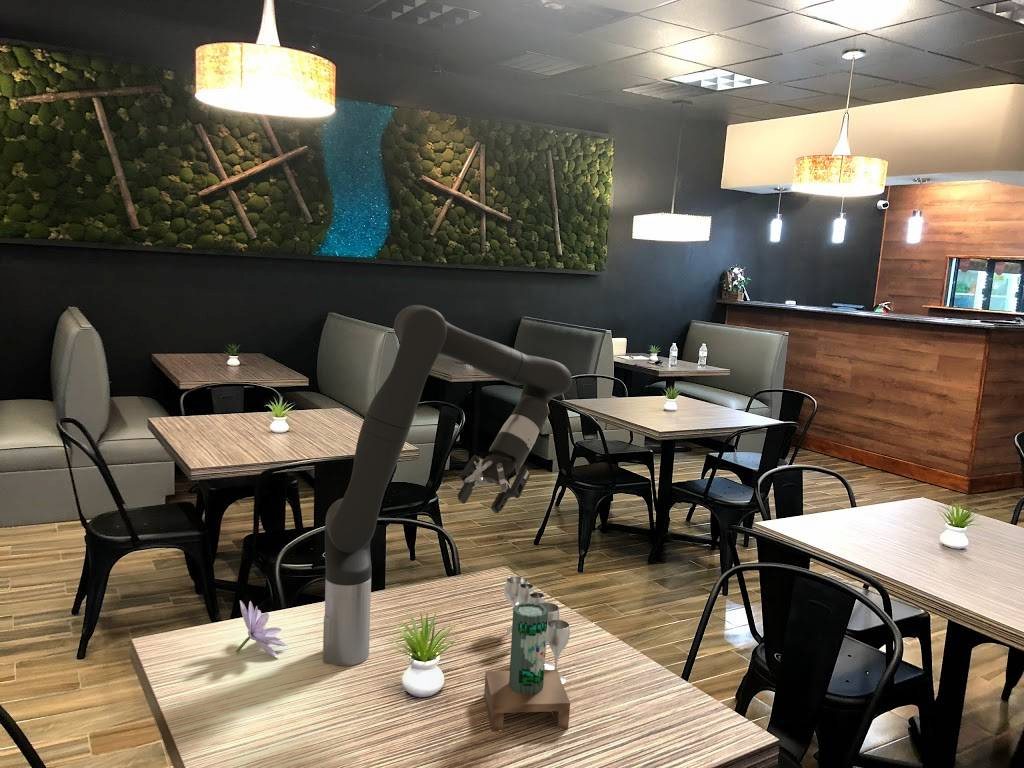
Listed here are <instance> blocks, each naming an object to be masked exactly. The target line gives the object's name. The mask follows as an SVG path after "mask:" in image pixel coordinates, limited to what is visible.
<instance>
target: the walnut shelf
mask: <svg viewBox="0 0 1024 768" xmlns="http://www.w3.org/2000/svg"><path fill="white" fill-rule="evenodd" d="M509 675H510V670H487V671H485V674H484V692H483V693H484V694H483V697H484V701H485V705H486V710H487V716H488V721H489V725H491V726H490V730H491V732H500V731H499V730H503V731H504V715H505V714H511V713H535V712H536V713H539V712H541V713H542V712H551V711H552V712H551V714H552V716H553V721H554V723H555V725H557V726H556V729H557V728H558V729H557V730H566V729H565V728H568V729H569V726H570V724H569V723H570V710H571V702H570V699H569V696H568V694H567V692H566V689H565V686H564V684H562V681H561V679H560V676H559V675H560V674H559V672H558V669H557V670H555V669H553V670H544V682H543V688H542V690H541V691H540V692H538V693H536V694H534V693H533V694H531V695H530V694H528V695H527V694H525V695H524V694H522V693H520V694H519V693H517V692H515V691H513V690H511V688H510V687H509ZM560 728H562V729H560Z"/></svg>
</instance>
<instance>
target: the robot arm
mask: <svg viewBox="0 0 1024 768" xmlns="http://www.w3.org/2000/svg"><path fill="white" fill-rule="evenodd" d="M393 331H394V333H395V336H396V338H397V340H398V342H399V347H398V350H397V354H396V357H395V360H394V363H393V366H392V368H391V370H390V372H389V375H387V377H386V379H385V381H383V384H382V385H381V386H380V387H379V389H378V390H377V392H376V394H375V395H374V397H373V398H372V400H371V403H370V404H369V406H368V409H367V411H366V413H365V416H364V419H363V421H362V425H361V428H360V431H359V434H358V439H357V442H356V447H355V453H354V459H353V465H352V473H351V477H350V480H349V483H348V487H347V489H346V491H345V493H344V495H343V497H342V498H339V499H337V500H336V501H334V502H333V503H332V504H331V505H330V507H329V508H328V510H327V512H326V516H325V521H324V522H325V523H324V565H325V566H324V567H325V568H324V569H325V585H324V586H325V589H324V590H325V591H324V597H325V598H324V616H323V630H322V631H323V637H322V640H323V641H322V643H323V644H322V663H328V664H332V665H335V666H342V667H346V666H355V665H359V664H361V663H363V662H365V661H366V660H367V659H368V658H369V656H370V634H371V633H370V632H371V631H370V630H371V628H370V627H371V597H372V596H371V595H372V593H371V592H372V560H371V559H372V558H371V540H372V539H373V537H374V535H375V532H376V527H377V523H378V519H379V514H380V510H381V508H382V504H383V500H384V496H385V492H386V489H387V487H388V484H389V483H390V480H391V478H392V476H393V473H394V471H395V469H396V465H397V463H398V460H399V458H400V456H401V453H402V451H403V448H404V445H405V443H406V440H407V438H408V435H409V432H410V429H411V428H412V427H411V426H412V424H413V420H414V417H415V414H416V411H417V410H418V406H419V403H420V401H421V397H422V394H423V391H424V388H425V384H426V382H427V379H428V377H429V375H430V372H431V370H432V368H433V366H434V364H435V362H436V360H437V358H438V357H439V354H440V355H444V356H447V357H448V358H449V357H450V358H452V359H455V360H457V361H460V362H462V363H463V364H465V365H468V366H470V367H472V368H474V369H476V370H478V371H480V372H482V373H484V374H486V375H488V376H490V377H493V378H496V379H498V380H500V381H504V382H506V383H508V384H511V385H514V386H515V385H517V386H518V385H519V386H520V385H524V386H523V387H522V388H523V389H522V391H521V394H520V398H519V401H518V403H517V405H516V406H515V408H514V409H513V411H512V413H510V416H509V417H508V419H506V421H505V422H504V423H503V425H502V427H501V429H500V430H499V432H498V433H497V435H496V436H495V439H494V441H493V442H492V444H490V445H491V446H489V449H488V454H487V456H486V457H485V458H483V459H482V458H479V457H478V456H477V454H475V455H472V456H471V458H470V459H469V461H468V462H467V463H466V465H465V467H464V468H463V470H462V471H461V472H460V473H459V479H460V480H461V481H462V482H463V485H462V487H461V488H460V491H459V492H458V494H457V500H458V501H459V502H460V504H463V505H465V504H466V503H467V501H468V500H469V498H470V496H471V494H472V493H473V491H474V489H475V488H476V487H478V486H479V485H484V484H495V485H497V486H500V490H501V492H498V493H497V496H496V497H495V499H494V501H493V503H492V504H491V507H490V508H491V511H492V512H493V513H494V514H499V513H500V512H501V511H503V509H504V507H505V505H506V503H507V502H508V500H510V499H511V498H515V499H519V498H520V497H521V495H522V493H523V491H524V489H525V487H526V485H527V483H528V480H529V478H530V476H531V474H530V472H529V471H528V469H527V468H526V466H523V464H524V463H525V461H526V459H527V457H528V456H529V454H530V452H531V450H532V448H533V446H534V445H535V444H536V441H537V438H538V436H539V433H540V432H541V430H542V429H543V427H544V424H545V423H546V422H547V419H548V416H549V415H550V409H549V407H548V404H549V402H550V401H551V399H553V398H555V397H559V396H561V395H563V394H564V393H567V391H569V390H570V388H571V387H572V383H573V377H572V374H571V371H570V369H568V368H567V366H565V365H564V364H562V363H561V362H558V361H556V360H553V359H549V358H545V357H541V356H537V355H536V356H535V355H530V354H529V355H528V354H527V353H523V352H521V351H519V350H517V349H515V348H513V347H509V346H508V345H504V344H502V343H499V342H497V341H494V340H491V339H488V338H485V337H483V336H480V335H476V334H473V333H471V332H468V331H467V330H463V329H461V328H459V327H457V326H454V325H453V324H451V323H449V322H448V321H446V319H445V317H444V316H443V314H441V312H439V311H438V310H436V309H434V308H431V307H429V306H425V305H421V304H413V305H408V306H406V307H404V308H403V309H401V310H400V311H399V312H398V313H397V314H396V317H395V319H394V323H393ZM481 475H482V477H481ZM514 477H515V478H514ZM513 478H514V480H513V483H511V480H512V479H513Z"/></svg>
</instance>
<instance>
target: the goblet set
mask: <svg viewBox="0 0 1024 768" xmlns="http://www.w3.org/2000/svg"><path fill="white" fill-rule="evenodd" d="M503 595H504V598H505V599H506V601H508V603H509V604H511V606H512V609H513V608H514V606H516V605H518V604H520V603H535V604H536V603H537V604H540V605H542V606H545V608H547V610H548V619H547V635H546V647H547V645H548V647H549V648H550V650H551V651H552V654H553V658H554V663H553V662H551V661H549V660H545V667H544V670H557V671H558V669H557V667H558V662H559V661H558V660H559V657H560V655H561V653H562V652H563V650H564V649H565V648H566V647H567V645H568V643H569V640H570V634H571V633H570V624H569V622H567V621H565V620H562V619H560V608H559V605H558V604H555V603H551V602H546V600H545V595H544V594H543V593H542V592H535V587H534V585H533V584H532V583H528V580H527V579H526V578H525V577H522V576H509V577H508V578H507V579H506V580H505V584H504V587H503ZM510 626H511V627H507V626H506V627H507V629H505V630H507V633H506V634H508V633H512V625H510ZM546 653H547V650H546V651H545V656H547V654H546ZM559 676H560V679H561V681H562V684H563V685H564V684H565V683H566V680H567V679H566V677H565V676H563V675H562V674H559Z"/></svg>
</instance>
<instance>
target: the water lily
mask: <svg viewBox="0 0 1024 768" xmlns="http://www.w3.org/2000/svg"><path fill="white" fill-rule="evenodd" d="M239 605H240V611H241V615H242V619H243V620H244V624H245V626H246V628H247V635H248V637H246V638H245V640H243V642H241V644H240V645H239V647H238V648H237V649H236V651H235V653H236V652H239V651H240V652H241V650H242V649H243V648H244V646H245V645H246V644H247V643H248V642H249V641H250V640H253V641H255V642H256V643H257V644H258V646H260V648H261V649H263V650H264V651H265V652H266V653H267V654H268V655H270V656H271V657H273V658H275V659H277V660H279V657H278V658H276V657H275V656H278V654H277V653H276V651H274V649H273V648H272V647H271V646H269V645H267V644H271V645H276V646H282V647H288V646H289V645H288V644H286V643H285V642H284V641H281V640H282V638H280V637H277V634H278V633H280V632H282V631H283V630H282V628H279V627H275V626H274V627H267V626H266V624H267V623H268V621H269V618H270V615H269V612H265V613H263V614H262V612H261V610H260V609H259V608H258V605H256V606H255V608H254V605H253V603H252V601H251V600H250V601H249V603H248V609H247V607H246V606H245V603H243V601H242V600H239ZM266 643H267V644H266ZM240 652H239V653H240Z"/></svg>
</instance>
